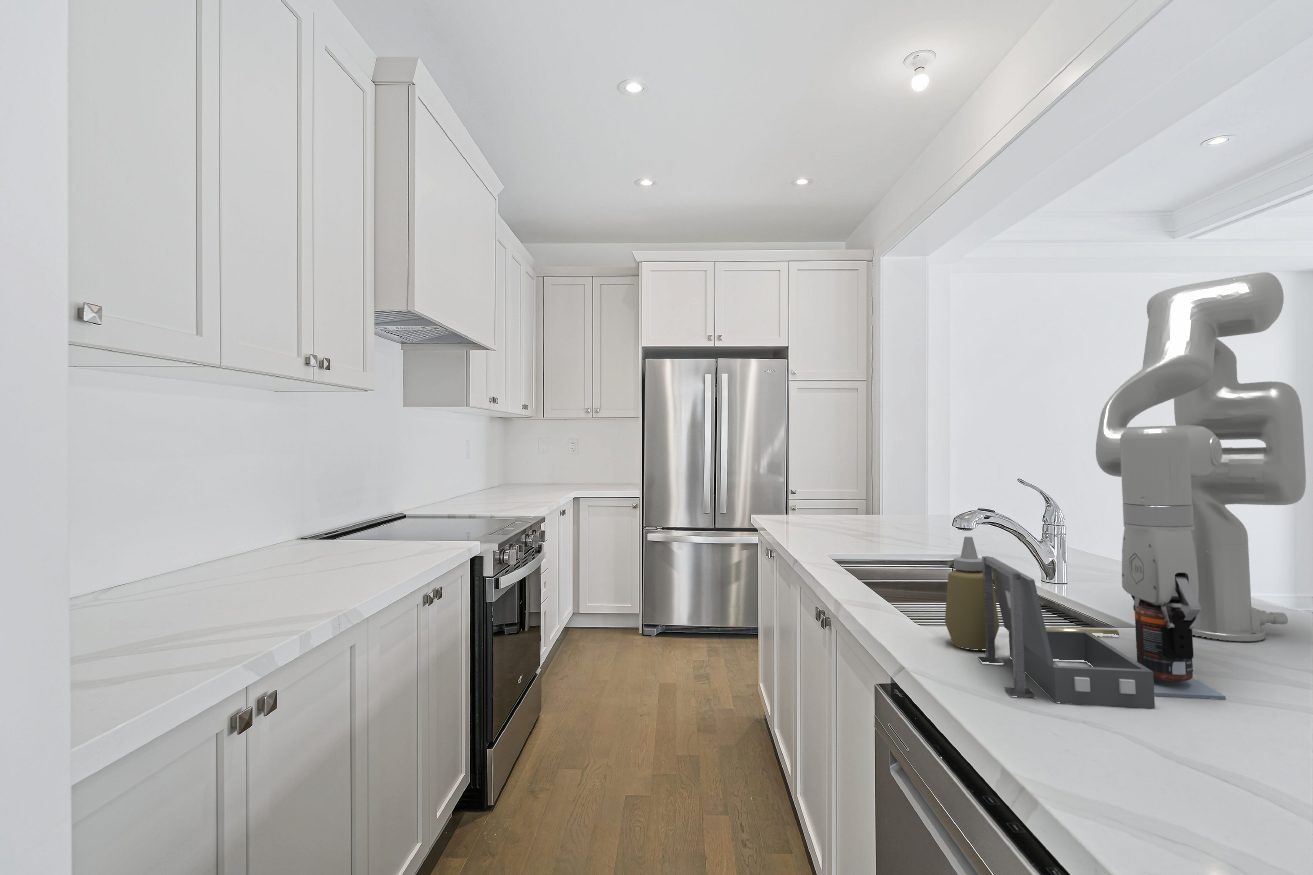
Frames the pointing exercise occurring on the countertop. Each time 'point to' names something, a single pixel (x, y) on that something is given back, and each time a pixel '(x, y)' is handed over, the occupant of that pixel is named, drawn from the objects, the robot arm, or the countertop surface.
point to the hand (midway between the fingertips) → (1163, 648)
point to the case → (1090, 672)
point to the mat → (1185, 689)
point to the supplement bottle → (1157, 645)
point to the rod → (1104, 631)
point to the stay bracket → (1016, 624)
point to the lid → (1024, 613)
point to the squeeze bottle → (967, 600)
